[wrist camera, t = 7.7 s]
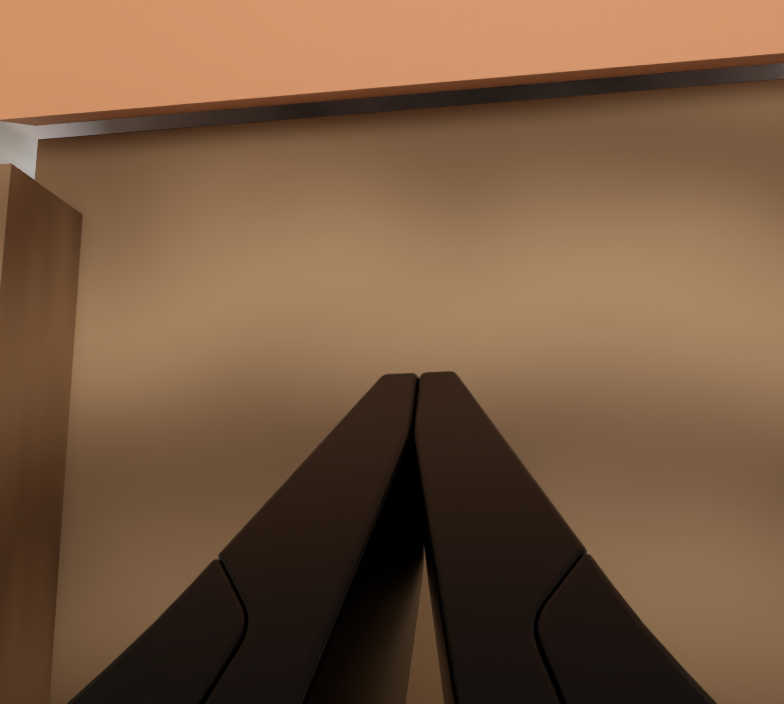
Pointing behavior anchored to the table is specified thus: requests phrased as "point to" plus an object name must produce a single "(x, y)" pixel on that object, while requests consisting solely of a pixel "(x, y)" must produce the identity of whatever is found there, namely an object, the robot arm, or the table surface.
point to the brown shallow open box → (399, 351)
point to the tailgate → (347, 49)
